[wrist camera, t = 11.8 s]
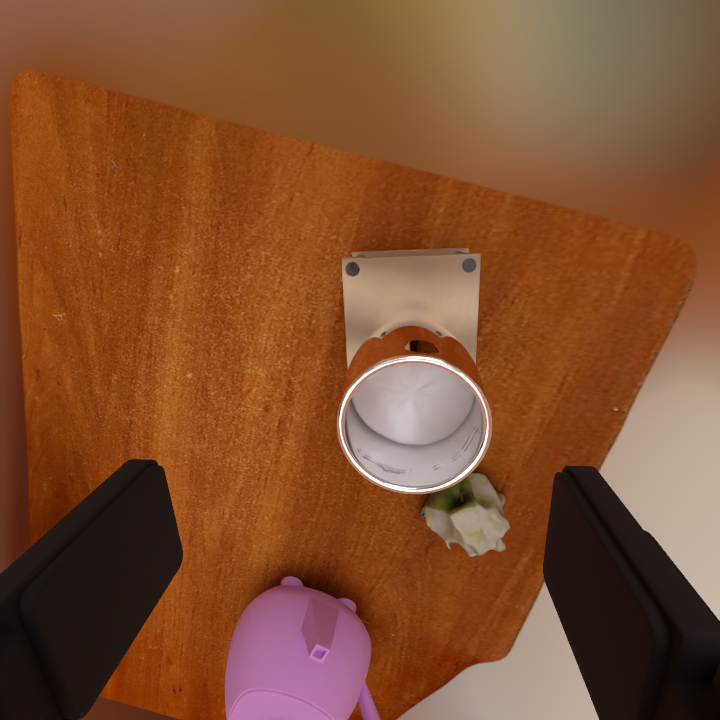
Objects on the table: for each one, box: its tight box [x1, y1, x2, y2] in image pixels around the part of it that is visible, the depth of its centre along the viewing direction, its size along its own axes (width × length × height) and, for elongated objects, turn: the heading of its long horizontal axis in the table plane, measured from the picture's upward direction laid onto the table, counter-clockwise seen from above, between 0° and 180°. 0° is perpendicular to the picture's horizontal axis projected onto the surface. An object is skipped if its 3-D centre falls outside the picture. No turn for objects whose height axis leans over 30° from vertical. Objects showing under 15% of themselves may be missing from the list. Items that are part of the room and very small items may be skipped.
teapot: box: [225, 576, 380, 720], centre depth 46 cm, size 20×20×15 cm
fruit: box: [420, 472, 511, 557], centre depth 43 cm, size 9×9×8 cm
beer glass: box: [337, 297, 492, 494], centre depth 25 cm, size 7×7×15 cm
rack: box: [341, 248, 481, 370], centre depth 36 cm, size 12×10×9 cm
